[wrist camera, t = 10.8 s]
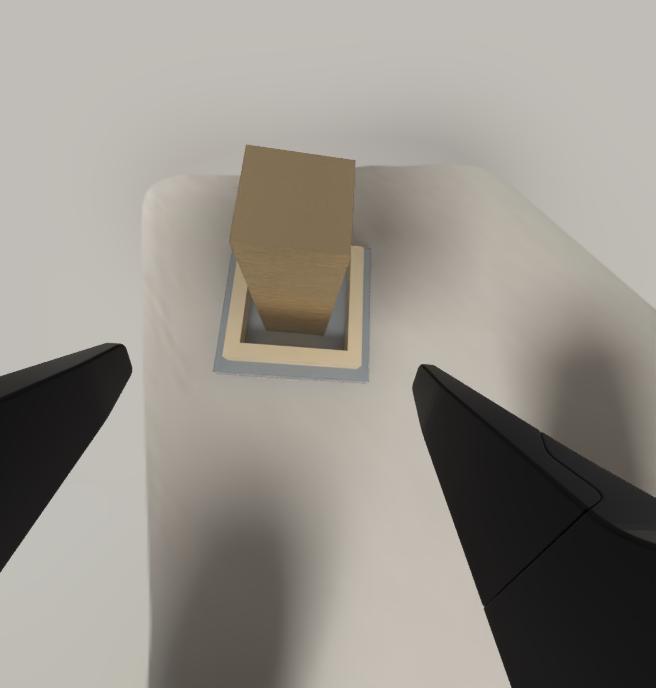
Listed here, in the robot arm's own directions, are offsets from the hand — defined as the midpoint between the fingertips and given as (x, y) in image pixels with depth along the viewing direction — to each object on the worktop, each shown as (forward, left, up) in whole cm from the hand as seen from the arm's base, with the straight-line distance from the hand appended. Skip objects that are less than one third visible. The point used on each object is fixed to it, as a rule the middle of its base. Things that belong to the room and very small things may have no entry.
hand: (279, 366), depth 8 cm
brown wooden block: (+5, -4, -11) cm, 13 cm away
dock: (+5, -4, -12) cm, 14 cm away
